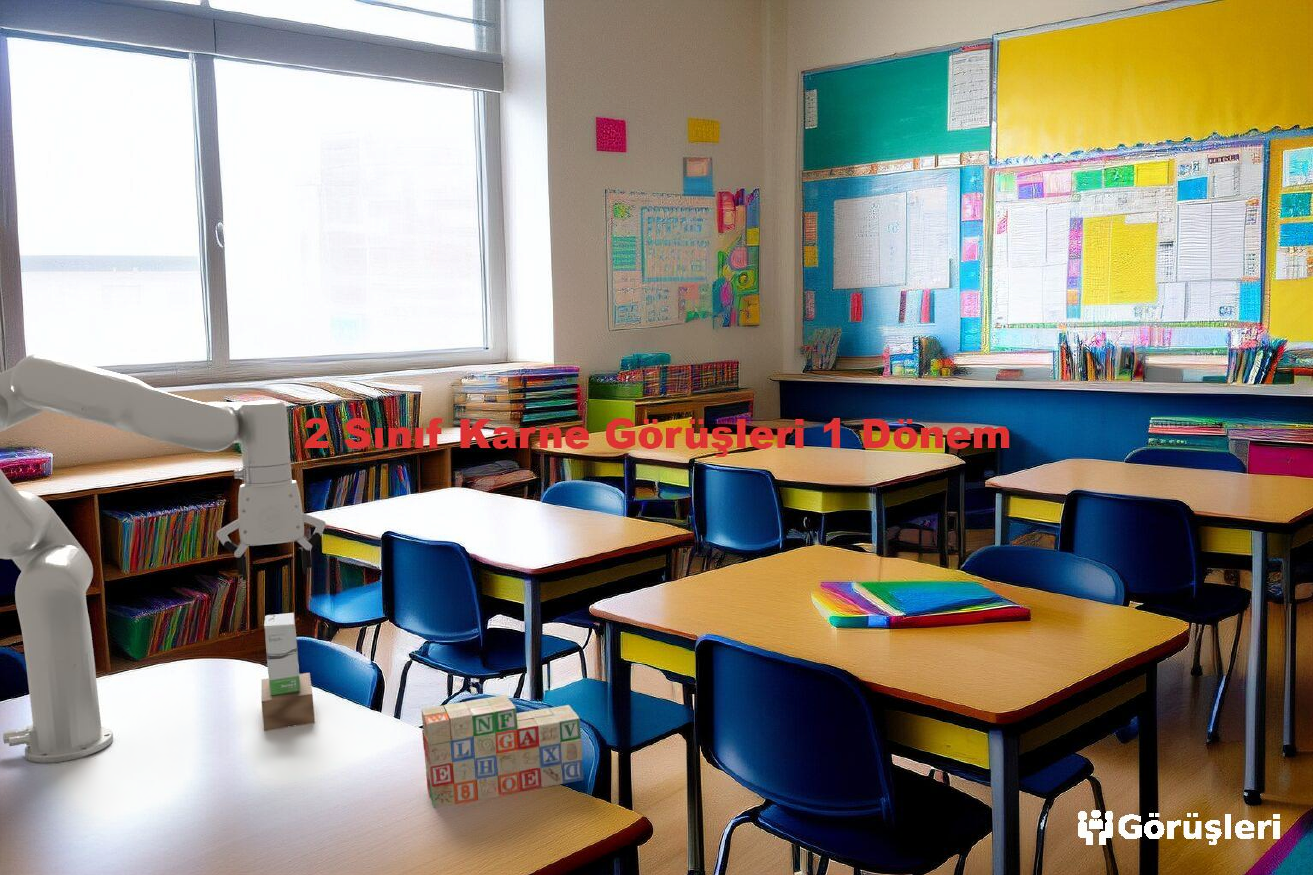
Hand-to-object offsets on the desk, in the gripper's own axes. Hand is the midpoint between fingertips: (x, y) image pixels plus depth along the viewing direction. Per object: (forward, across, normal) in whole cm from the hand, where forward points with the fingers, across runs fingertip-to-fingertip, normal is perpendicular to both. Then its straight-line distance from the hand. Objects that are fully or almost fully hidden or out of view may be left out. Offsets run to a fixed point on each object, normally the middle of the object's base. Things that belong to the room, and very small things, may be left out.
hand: (275, 575), depth 187 cm
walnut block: (+24, 0, 0) cm, 24 cm away
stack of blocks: (+24, +29, -44) cm, 58 cm away
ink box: (+19, 0, 0) cm, 19 cm away
